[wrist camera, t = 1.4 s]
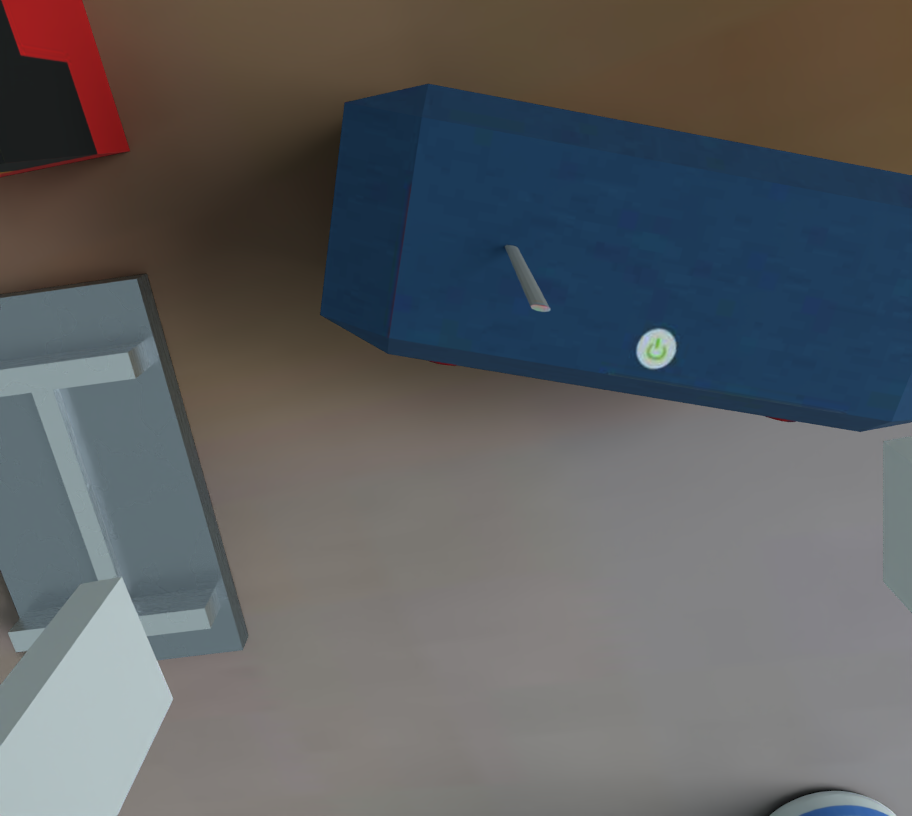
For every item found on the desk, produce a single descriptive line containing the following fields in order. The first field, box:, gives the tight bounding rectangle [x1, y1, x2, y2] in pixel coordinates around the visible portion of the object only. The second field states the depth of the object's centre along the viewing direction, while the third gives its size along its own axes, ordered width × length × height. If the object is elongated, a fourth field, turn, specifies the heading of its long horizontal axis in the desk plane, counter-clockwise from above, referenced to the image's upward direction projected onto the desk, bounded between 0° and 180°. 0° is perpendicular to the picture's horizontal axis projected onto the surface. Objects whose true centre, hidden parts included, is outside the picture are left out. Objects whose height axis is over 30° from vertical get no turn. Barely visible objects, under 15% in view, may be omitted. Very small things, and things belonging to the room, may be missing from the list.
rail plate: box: [0, 274, 248, 660], centre depth 37 cm, size 20×11×3 cm, turn 8°
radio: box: [320, 84, 912, 432], centre depth 25 cm, size 21×9×20 cm, turn 80°
